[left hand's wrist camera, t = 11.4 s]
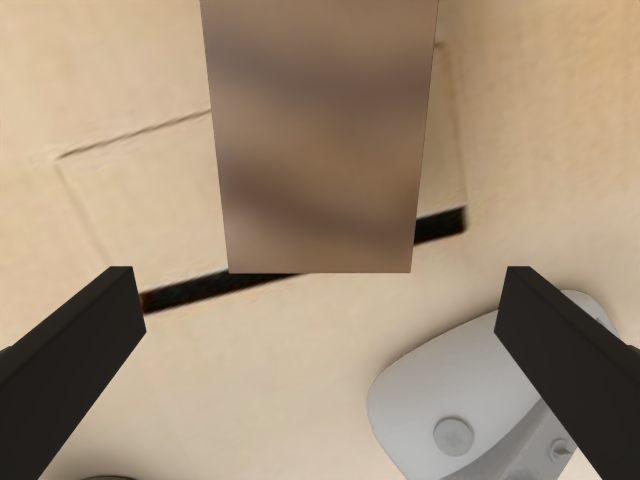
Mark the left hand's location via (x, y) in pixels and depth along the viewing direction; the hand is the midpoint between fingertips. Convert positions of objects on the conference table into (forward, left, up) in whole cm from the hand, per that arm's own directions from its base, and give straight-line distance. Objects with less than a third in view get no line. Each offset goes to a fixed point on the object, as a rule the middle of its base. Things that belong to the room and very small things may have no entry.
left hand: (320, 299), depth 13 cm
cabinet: (+7, +3, -18) cm, 20 cm away
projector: (-12, -22, -18) cm, 31 cm away
